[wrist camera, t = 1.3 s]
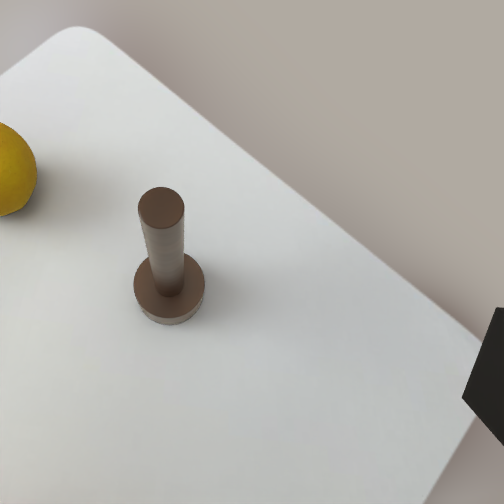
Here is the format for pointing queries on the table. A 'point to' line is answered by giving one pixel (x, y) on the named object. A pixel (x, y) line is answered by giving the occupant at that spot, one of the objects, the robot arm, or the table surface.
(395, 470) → the table surface
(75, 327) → the table surface
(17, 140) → the apple
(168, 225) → the brown joystick
